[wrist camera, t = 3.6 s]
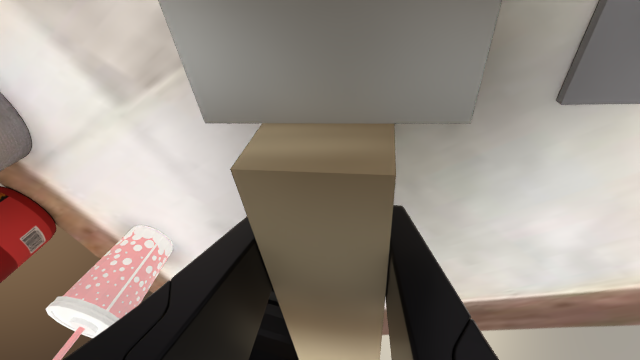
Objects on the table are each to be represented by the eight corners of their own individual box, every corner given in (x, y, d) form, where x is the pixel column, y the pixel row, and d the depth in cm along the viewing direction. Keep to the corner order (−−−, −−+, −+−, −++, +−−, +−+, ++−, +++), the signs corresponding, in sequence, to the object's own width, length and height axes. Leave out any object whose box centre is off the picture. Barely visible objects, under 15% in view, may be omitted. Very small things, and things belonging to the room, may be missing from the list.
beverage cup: (113, 228, 30) (-35, 381, 20) (144, 213, 28) (-9, 381, 17) (159, 262, 33) (50, 411, 23) (191, 251, 30) (85, 416, 20)
